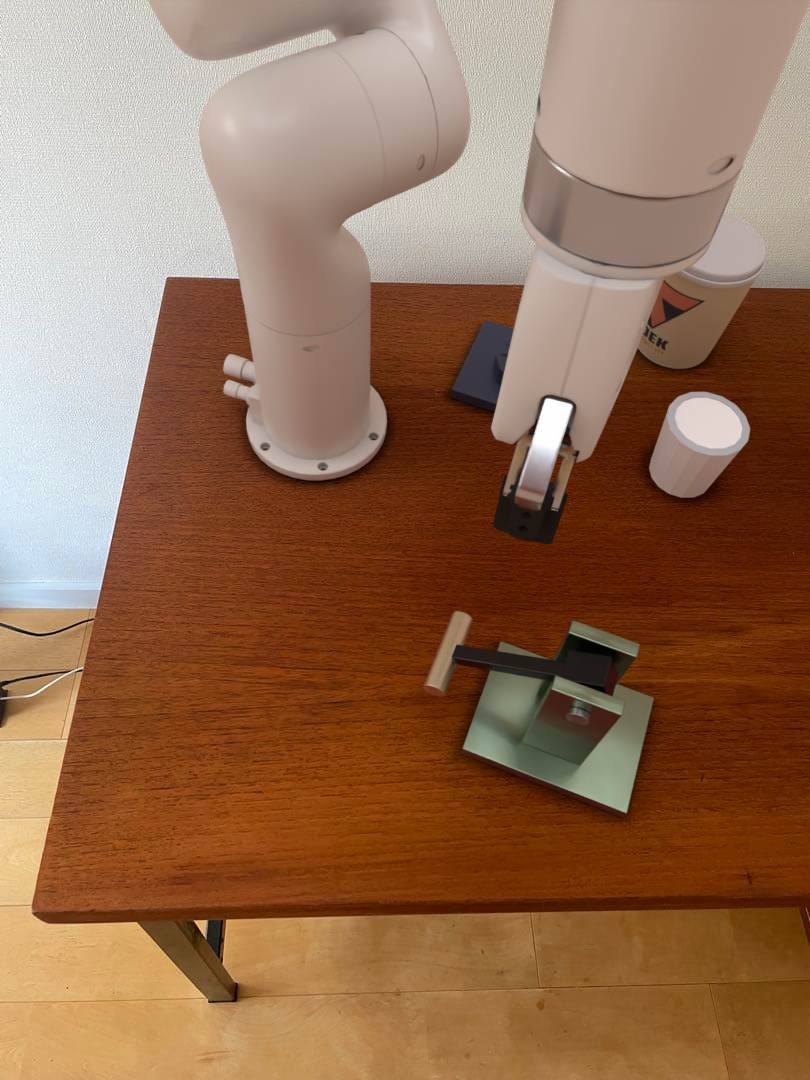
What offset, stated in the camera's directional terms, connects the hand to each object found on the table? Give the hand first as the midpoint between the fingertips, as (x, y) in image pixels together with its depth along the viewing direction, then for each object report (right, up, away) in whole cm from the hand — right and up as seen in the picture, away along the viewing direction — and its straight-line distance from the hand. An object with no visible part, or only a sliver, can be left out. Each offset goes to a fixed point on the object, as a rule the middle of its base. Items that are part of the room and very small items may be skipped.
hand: (545, 464), depth 44 cm
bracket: (+3, -18, +14) cm, 23 cm away
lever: (0, -13, +9) cm, 16 cm away
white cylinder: (+17, +2, +27) cm, 32 cm away
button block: (+4, +11, +32) cm, 34 cm away
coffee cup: (+19, +16, +36) cm, 44 cm away
